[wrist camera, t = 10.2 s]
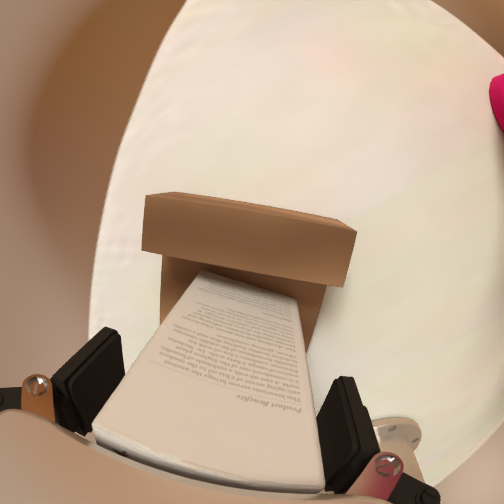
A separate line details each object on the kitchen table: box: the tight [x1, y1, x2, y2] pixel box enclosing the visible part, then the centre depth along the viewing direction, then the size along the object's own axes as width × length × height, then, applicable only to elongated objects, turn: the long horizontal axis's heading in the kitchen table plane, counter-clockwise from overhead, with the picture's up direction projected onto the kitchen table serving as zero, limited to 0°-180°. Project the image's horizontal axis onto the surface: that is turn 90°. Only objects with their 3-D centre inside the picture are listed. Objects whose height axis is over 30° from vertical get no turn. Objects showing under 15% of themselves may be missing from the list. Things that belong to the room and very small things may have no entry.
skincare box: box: [92, 270, 325, 494], centre depth 11 cm, size 6×4×12 cm
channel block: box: [142, 192, 357, 352], centre depth 15 cm, size 13×10×4 cm
